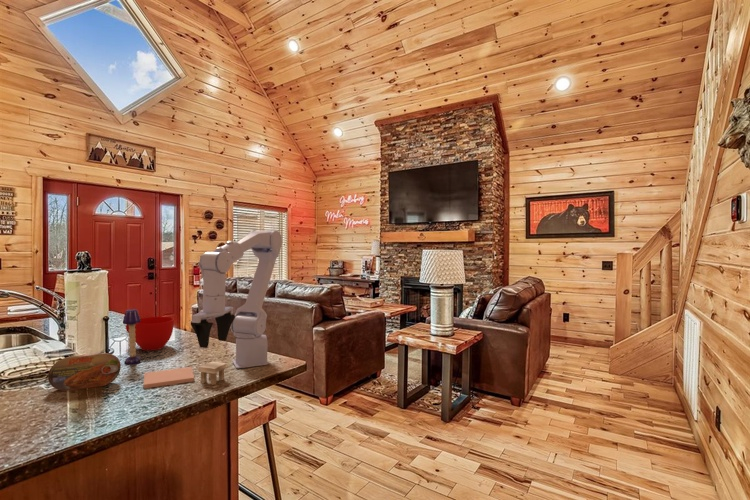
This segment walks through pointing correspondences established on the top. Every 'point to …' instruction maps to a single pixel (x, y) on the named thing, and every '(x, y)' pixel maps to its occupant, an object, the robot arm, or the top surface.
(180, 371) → the mat
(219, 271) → the robot arm
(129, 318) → the toy lamp
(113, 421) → the top surface
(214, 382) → the toy stool
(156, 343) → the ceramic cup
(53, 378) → the tin
